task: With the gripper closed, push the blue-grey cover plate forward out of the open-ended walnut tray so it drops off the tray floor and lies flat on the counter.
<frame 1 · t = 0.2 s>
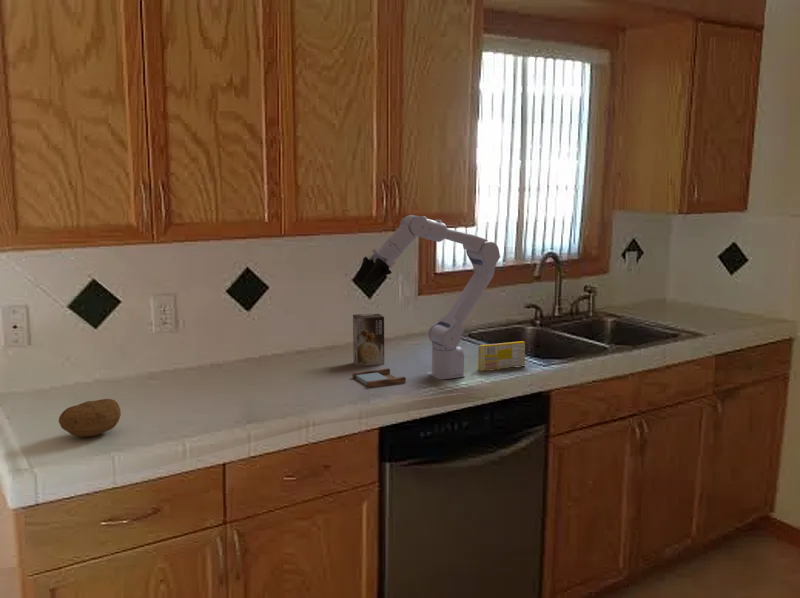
hand: (361, 281, 221), 31 cm above the counter, tool tilted 45°, fingers open, 7 cm apart
cover plate: (372, 381, 230), point 1 cm above the counter, touching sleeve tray
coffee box: (368, 364, 251), on the counter
candy box: (501, 369, 249), on the counter
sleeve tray: (378, 382, 231), on the counter
potato: (91, 436, 183), on the counter
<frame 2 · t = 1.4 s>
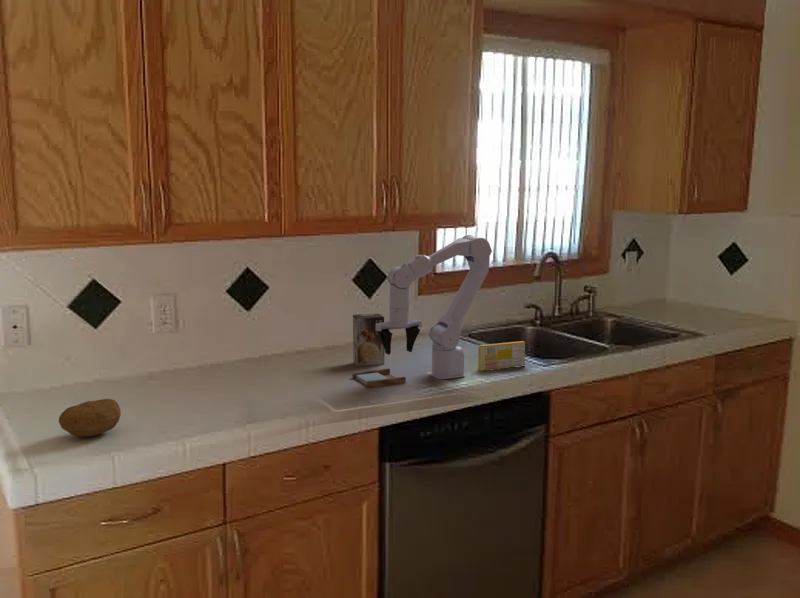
hand: (398, 352, 232), 8 cm above the counter, tool pointing down, fingers open, 7 cm apart
nothing on the counter moved.
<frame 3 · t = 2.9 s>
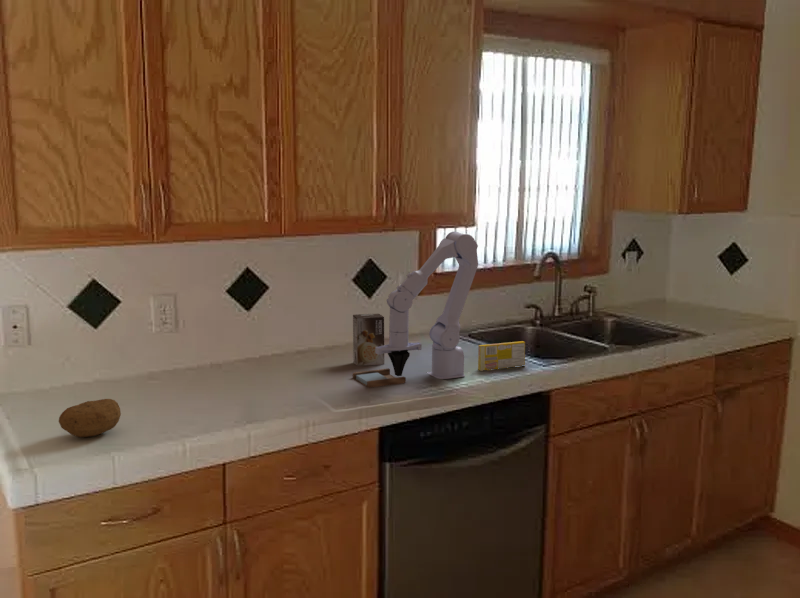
hand: (398, 375, 233), 1 cm above the counter, tool pointing down, fingers closed
nothing on the counter moved.
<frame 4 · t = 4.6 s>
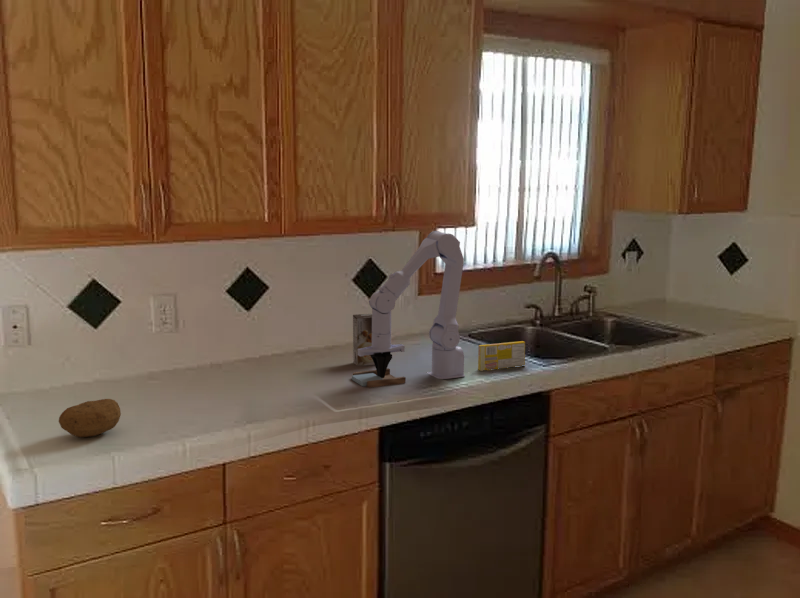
hand: (381, 377, 231), 1 cm above the counter, tool pointing down, fingers closed
cover plate: (367, 381, 229), point 1 cm above the counter, touching gripper
everything else where it was.
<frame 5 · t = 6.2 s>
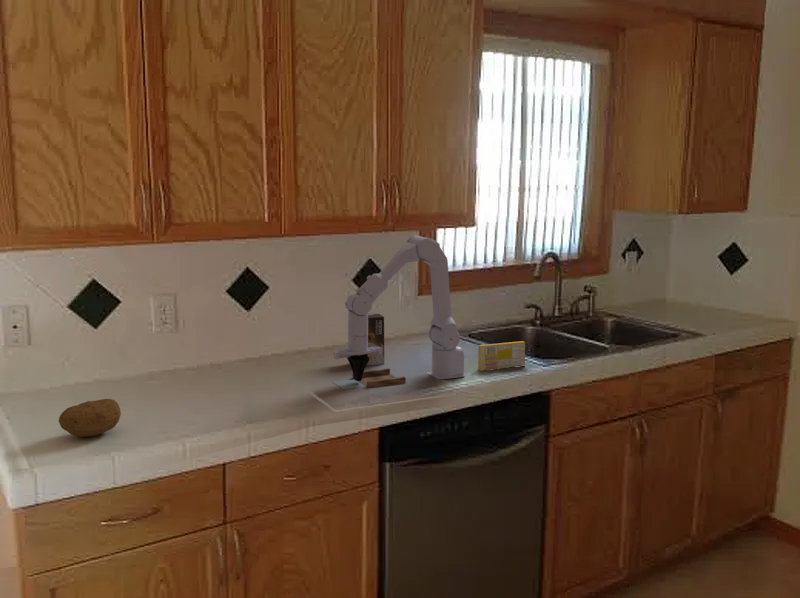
hand: (357, 380, 227), 1 cm above the counter, tool pointing down, fingers closed
cover plate: (349, 388, 226), on the counter
everything else where it was.
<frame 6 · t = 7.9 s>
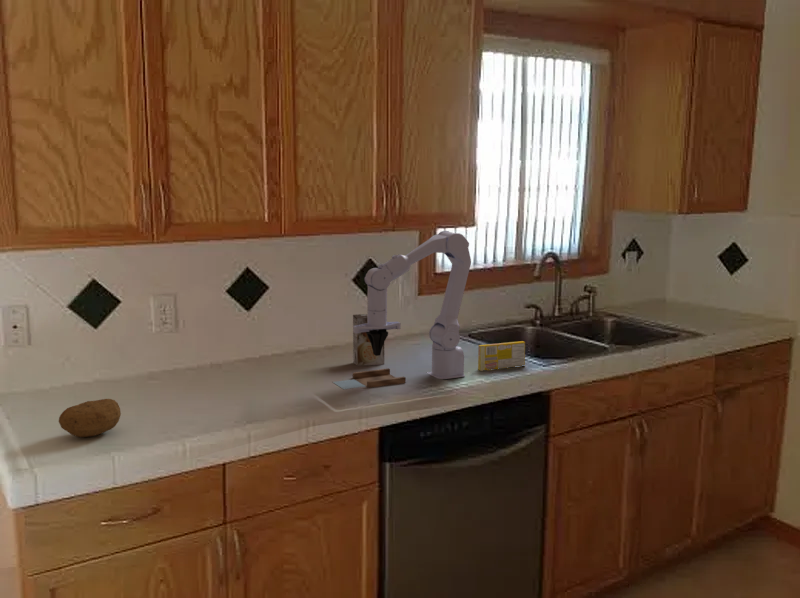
hand: (376, 354, 229), 8 cm above the counter, tool pointing down, fingers closed
nothing on the counter moved.
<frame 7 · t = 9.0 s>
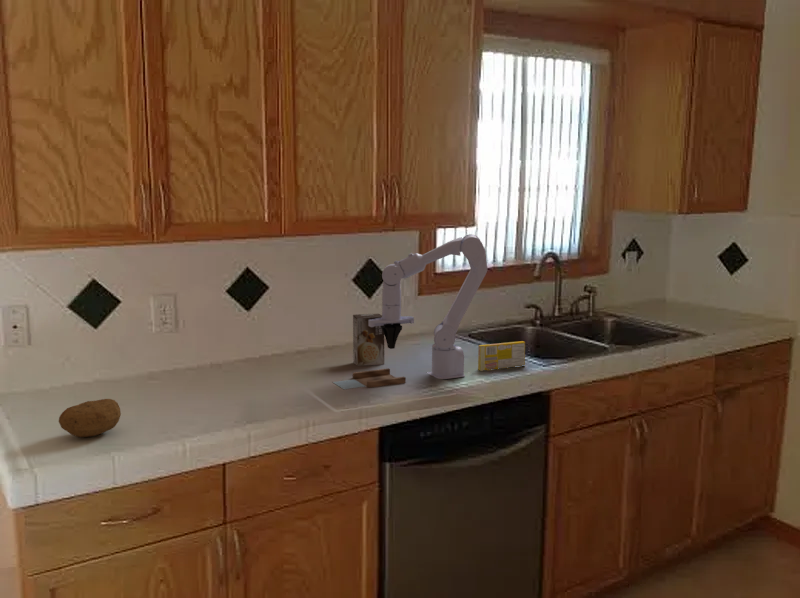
hand: (391, 348, 238), 8 cm above the counter, tool pointing down, fingers closed
nothing on the counter moved.
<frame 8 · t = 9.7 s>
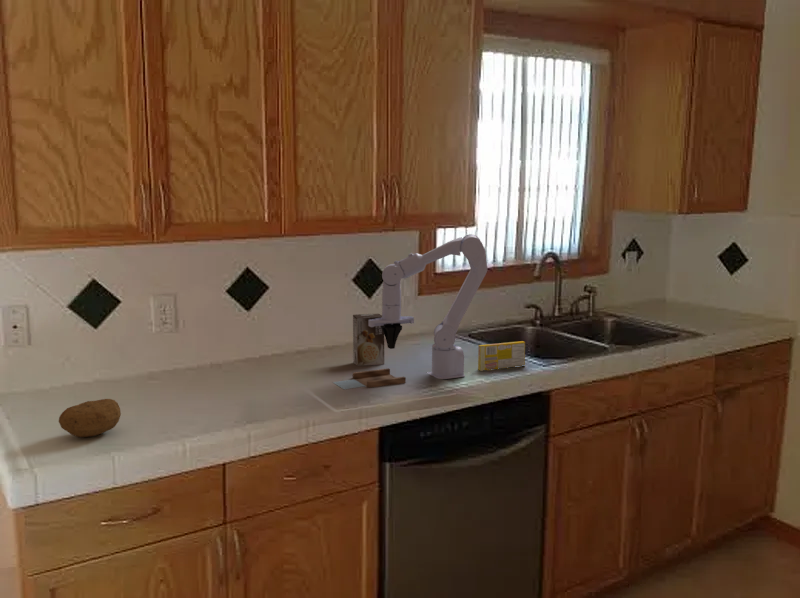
hand: (391, 348, 238), 8 cm above the counter, tool pointing down, fingers closed
nothing on the counter moved.
at the end: cover plate inside the target area (3.4 cm from its centre), on the counter; cover plate tilted 0°; cover plate touching counter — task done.
